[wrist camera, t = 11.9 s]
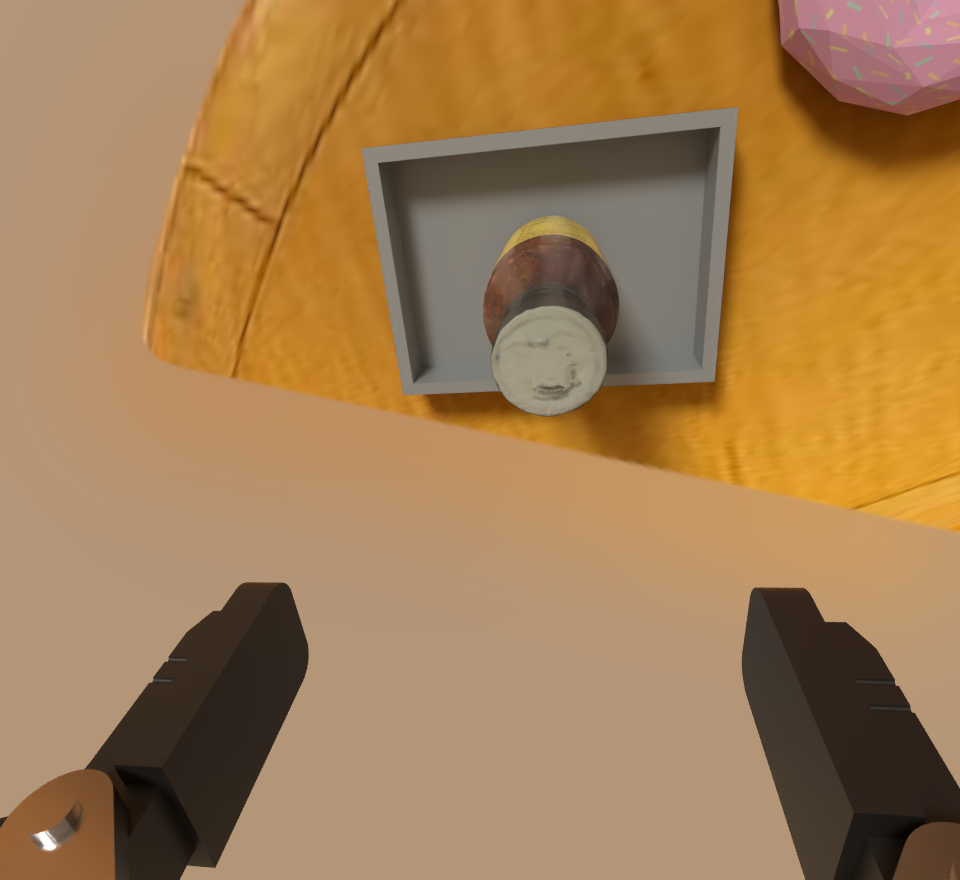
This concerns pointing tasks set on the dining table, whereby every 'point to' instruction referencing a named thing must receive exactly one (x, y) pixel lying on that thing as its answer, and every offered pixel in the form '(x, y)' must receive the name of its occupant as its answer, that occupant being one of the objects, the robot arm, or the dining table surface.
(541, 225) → the sauce bottle
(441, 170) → the tray
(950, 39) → the donut
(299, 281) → the dining table surface
